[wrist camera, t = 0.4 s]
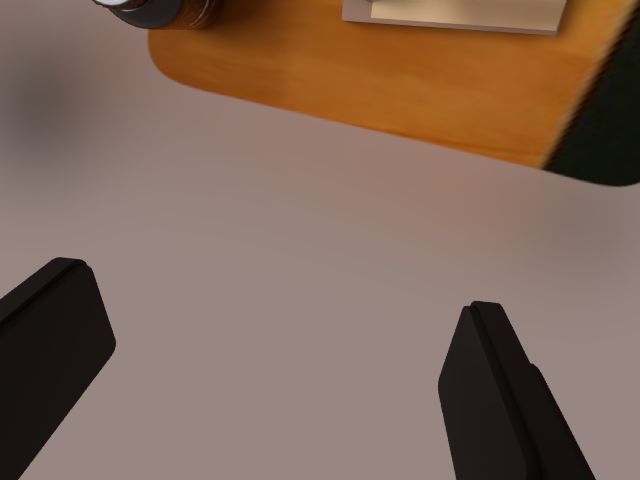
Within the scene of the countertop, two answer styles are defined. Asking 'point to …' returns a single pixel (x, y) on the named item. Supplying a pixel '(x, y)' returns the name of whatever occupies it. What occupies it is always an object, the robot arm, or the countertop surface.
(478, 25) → the stool seat
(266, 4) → the countertop surface
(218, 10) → the supplement bottle
